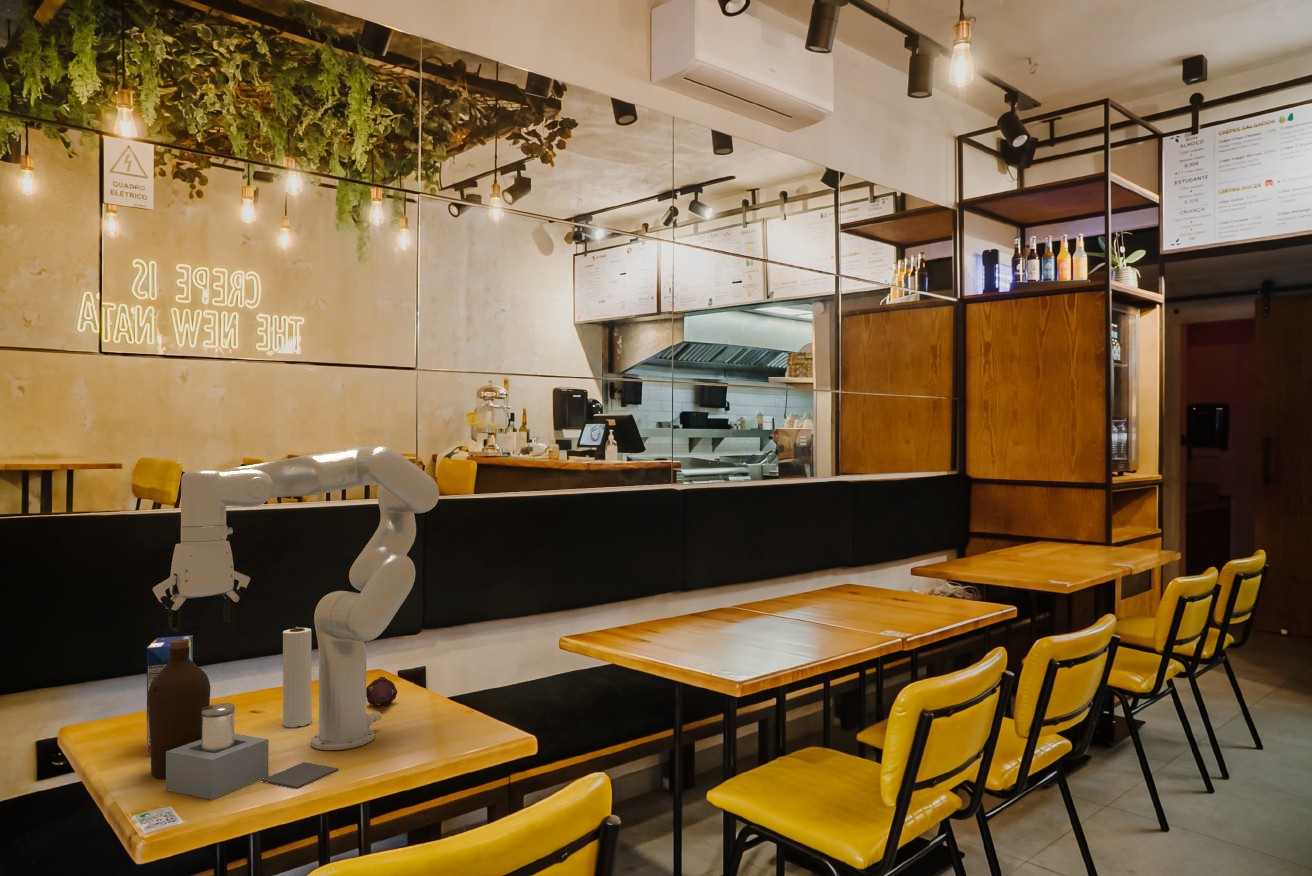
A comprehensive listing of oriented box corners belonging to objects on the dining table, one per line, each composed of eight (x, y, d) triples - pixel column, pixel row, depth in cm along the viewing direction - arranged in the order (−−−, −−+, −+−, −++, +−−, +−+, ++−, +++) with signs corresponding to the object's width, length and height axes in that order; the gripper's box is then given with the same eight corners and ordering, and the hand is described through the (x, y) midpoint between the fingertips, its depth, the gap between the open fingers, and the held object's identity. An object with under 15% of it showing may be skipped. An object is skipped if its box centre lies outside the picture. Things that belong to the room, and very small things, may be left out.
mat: (303, 764, 166) (303, 762, 166) (338, 770, 163) (338, 768, 163) (261, 781, 157) (261, 779, 157) (297, 788, 154) (297, 786, 154)
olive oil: (196, 779, 159) (196, 645, 160) (136, 782, 158) (136, 647, 159) (219, 759, 170) (219, 634, 170) (163, 762, 169) (164, 636, 169)
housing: (223, 768, 165) (223, 731, 165) (268, 776, 160) (268, 739, 160) (165, 790, 154) (165, 751, 154) (212, 799, 149) (212, 759, 149)
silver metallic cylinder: (220, 776, 161) (220, 701, 161) (241, 780, 158) (241, 704, 159) (194, 786, 156) (194, 709, 156) (215, 790, 153) (215, 712, 154)
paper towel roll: (301, 728, 189) (301, 632, 190) (277, 727, 190) (277, 631, 191) (320, 719, 196) (319, 626, 197) (296, 718, 197) (295, 625, 198)
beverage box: (146, 757, 172) (146, 647, 173) (156, 740, 182) (156, 637, 183) (184, 752, 174) (184, 644, 175) (192, 736, 185) (192, 635, 185)
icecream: (402, 684, 201) (398, 676, 215) (370, 679, 199) (368, 671, 213) (394, 714, 200) (391, 704, 214) (362, 710, 198) (361, 699, 212)
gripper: (239, 531, 169) (238, 617, 168) (145, 538, 155) (144, 632, 154) (258, 532, 164) (258, 621, 164) (163, 539, 150) (163, 636, 150)
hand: (203, 626), depth 159 cm, fingers open, 9 cm apart
